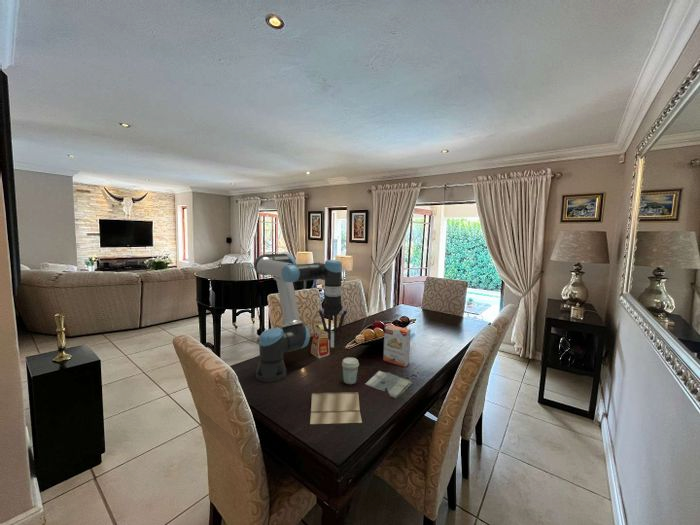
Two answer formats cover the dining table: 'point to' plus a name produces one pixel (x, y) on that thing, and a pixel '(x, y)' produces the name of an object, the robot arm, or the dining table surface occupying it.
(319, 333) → the milk carton
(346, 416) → the laid plank
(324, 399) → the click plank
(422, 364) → the dining table surface
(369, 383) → the dish towel
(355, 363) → the coffee cup
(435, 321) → the dining table surface
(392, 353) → the cracker box
